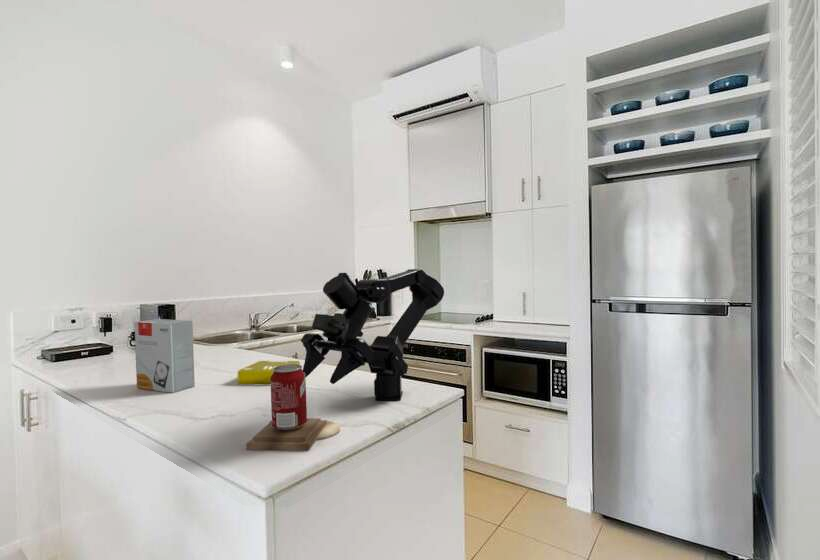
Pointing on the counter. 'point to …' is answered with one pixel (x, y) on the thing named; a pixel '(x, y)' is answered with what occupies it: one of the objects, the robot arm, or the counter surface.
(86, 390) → the counter surface
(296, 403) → the soda can
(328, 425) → the coaster
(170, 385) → the hard drive box
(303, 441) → the brown flat square block
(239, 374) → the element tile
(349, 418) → the counter surface
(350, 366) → the robot arm
